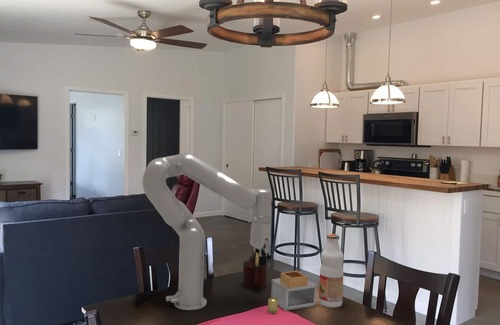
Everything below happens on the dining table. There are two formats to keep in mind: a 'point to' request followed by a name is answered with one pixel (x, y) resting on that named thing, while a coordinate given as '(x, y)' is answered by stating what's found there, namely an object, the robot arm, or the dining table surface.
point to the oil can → (253, 273)
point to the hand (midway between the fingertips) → (259, 263)
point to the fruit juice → (331, 273)
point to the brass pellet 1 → (257, 258)
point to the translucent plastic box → (294, 291)
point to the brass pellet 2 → (272, 305)
